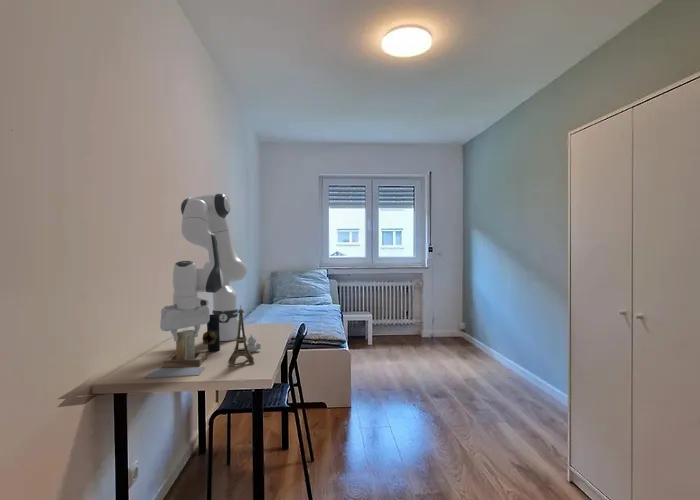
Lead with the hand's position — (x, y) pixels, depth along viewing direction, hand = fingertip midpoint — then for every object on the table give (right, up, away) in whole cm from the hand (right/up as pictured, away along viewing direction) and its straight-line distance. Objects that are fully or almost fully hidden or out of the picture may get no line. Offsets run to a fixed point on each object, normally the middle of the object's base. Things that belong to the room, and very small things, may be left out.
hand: (186, 338), depth 173 cm
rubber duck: (+23, -9, +16) cm, 29 cm away
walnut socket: (0, -9, 0) cm, 9 cm away
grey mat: (+1, -10, -14) cm, 17 cm away
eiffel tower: (+22, -10, -2) cm, 24 cm away
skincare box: (0, -9, 0) cm, 9 cm away
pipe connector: (+5, -9, +17) cm, 20 cm away
